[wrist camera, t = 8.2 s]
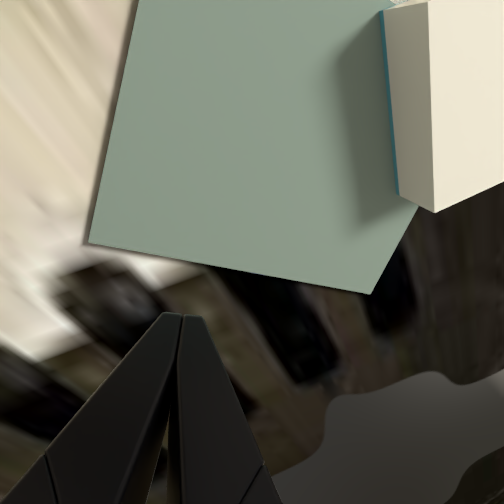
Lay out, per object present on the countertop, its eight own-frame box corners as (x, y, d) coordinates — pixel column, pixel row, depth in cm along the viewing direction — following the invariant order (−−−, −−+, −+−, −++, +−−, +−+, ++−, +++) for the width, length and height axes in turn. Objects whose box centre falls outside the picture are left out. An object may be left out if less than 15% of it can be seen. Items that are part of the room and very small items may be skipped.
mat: (366, 290, 24) (370, 294, 23) (88, 238, 17) (87, 242, 16) (487, 68, 19) (494, 68, 19) (167, -137, 12) (168, -143, 12)
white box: (434, 213, 18) (566, 152, 19) (427, 1, 13) (605, -68, 14) (396, 194, 20) (514, 141, 21) (379, 11, 16) (532, -48, 16)
